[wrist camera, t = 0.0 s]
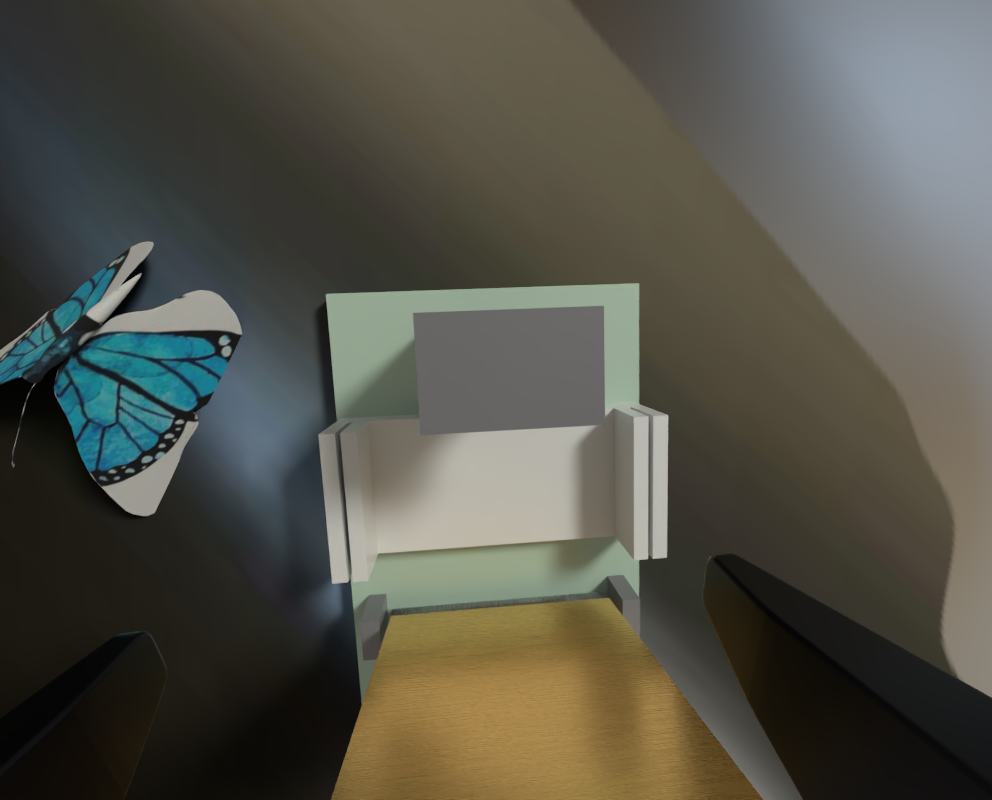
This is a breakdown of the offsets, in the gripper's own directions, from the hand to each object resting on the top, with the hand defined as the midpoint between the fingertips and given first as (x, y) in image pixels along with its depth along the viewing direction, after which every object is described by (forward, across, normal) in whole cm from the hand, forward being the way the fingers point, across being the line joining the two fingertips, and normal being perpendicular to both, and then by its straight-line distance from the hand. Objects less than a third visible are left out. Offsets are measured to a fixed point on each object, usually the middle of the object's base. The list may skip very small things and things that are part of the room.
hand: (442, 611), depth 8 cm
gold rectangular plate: (+11, -1, +12) cm, 16 cm away
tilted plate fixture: (+14, -2, +7) cm, 16 cm away
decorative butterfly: (+17, +14, 0) cm, 22 cm away
